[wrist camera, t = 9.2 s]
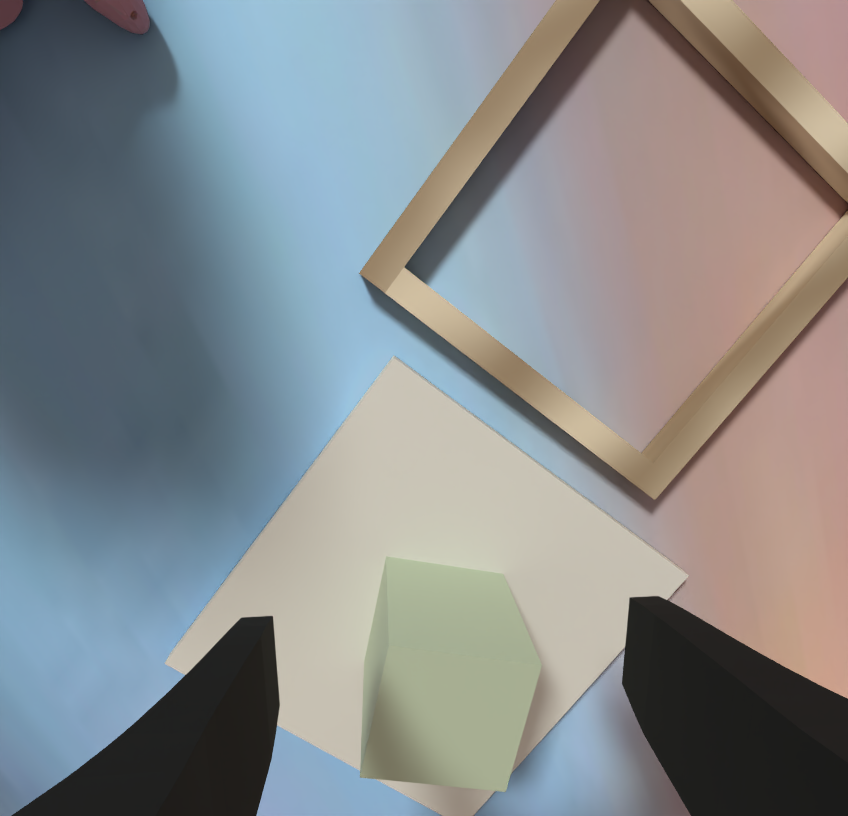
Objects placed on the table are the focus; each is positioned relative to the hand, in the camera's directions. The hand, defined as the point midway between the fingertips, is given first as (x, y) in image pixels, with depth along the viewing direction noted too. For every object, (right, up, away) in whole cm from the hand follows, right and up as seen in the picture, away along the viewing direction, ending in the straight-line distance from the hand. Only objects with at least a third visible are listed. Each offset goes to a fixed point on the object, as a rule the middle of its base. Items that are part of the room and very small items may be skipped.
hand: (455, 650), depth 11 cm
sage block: (0, -3, +10) cm, 10 cm away
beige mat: (0, -3, +10) cm, 11 cm away
